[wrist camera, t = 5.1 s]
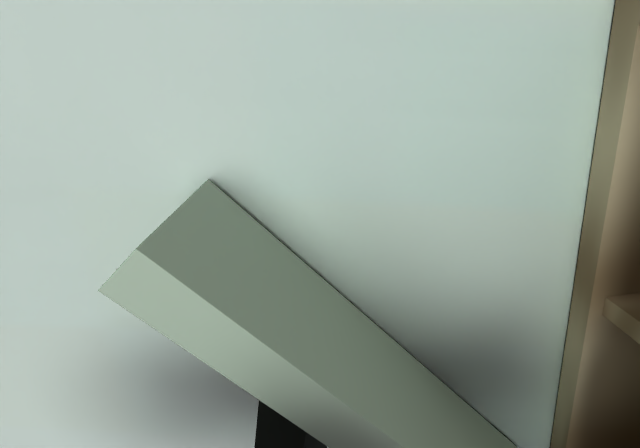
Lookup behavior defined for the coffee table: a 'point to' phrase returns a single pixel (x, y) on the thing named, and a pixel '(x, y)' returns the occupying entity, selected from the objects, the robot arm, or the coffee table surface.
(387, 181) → the coffee table surface
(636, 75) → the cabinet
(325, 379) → the sage green panel
